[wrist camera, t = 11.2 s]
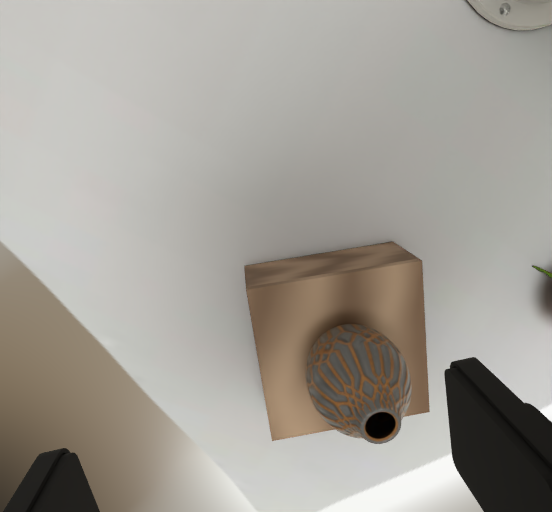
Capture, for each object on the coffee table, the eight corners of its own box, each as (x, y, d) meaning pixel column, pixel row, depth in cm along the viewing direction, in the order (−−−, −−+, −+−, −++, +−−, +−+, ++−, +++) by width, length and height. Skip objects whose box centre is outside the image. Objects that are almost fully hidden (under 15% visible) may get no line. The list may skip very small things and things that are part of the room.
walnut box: (393, 241, 37) (422, 260, 32) (402, 373, 41) (429, 411, 35) (244, 265, 37) (246, 289, 31) (266, 397, 40) (272, 440, 34)
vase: (405, 349, 33) (463, 420, 25) (342, 408, 34) (377, 496, 26) (345, 293, 32) (385, 349, 23) (280, 356, 33) (296, 433, 24)
